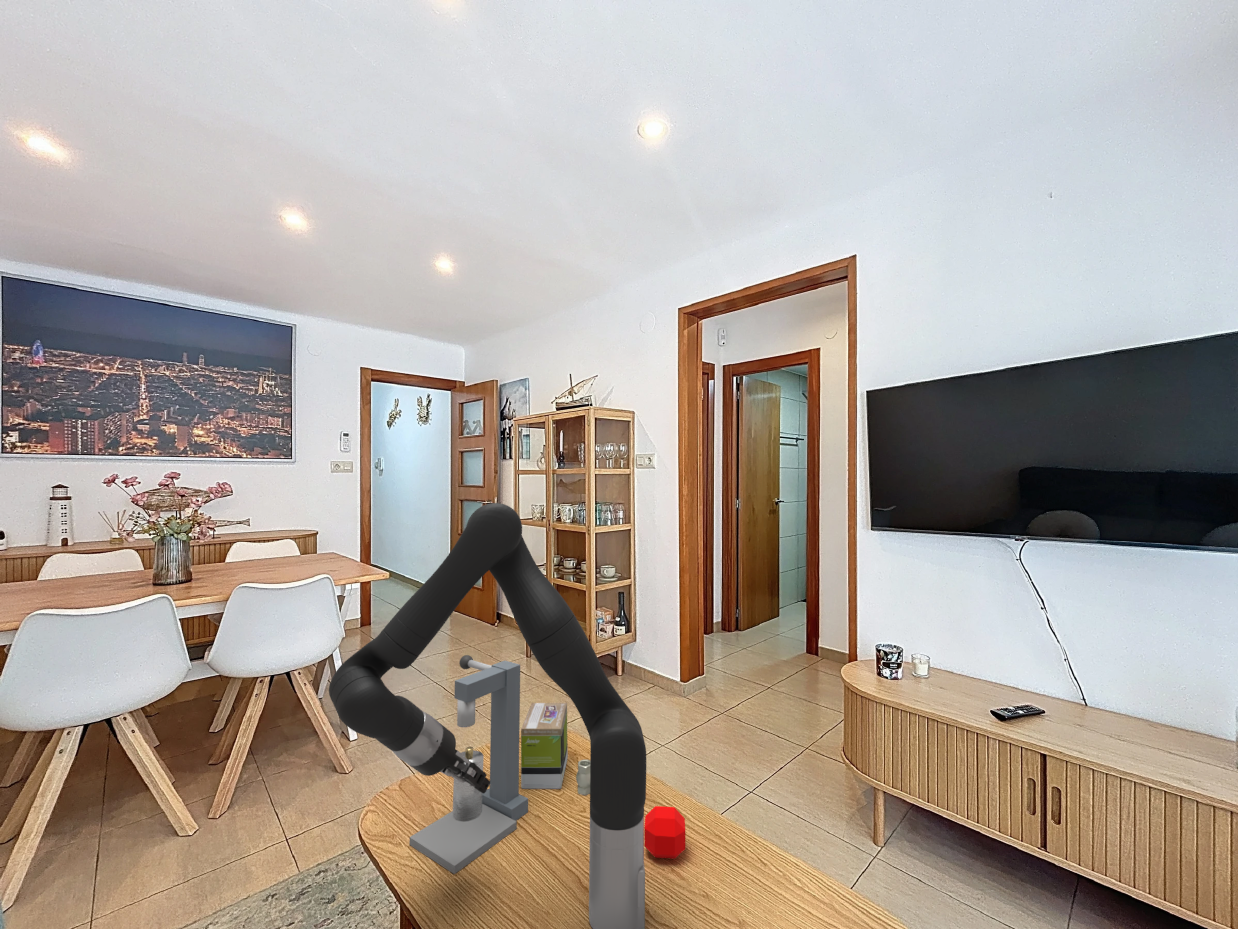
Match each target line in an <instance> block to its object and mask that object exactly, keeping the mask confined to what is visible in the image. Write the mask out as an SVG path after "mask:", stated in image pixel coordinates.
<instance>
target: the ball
mask: <svg viewBox="0 0 1238 929" xmlns="http://www.w3.org/2000/svg"><path fill="white" fill-rule="evenodd" d="M686 831H687V830H686V818H685V817H684V816H683V815H682V814H681V812H680V811H679V810H678V809H677V808H676V807H675V806H661V805H659V806H658V805H655V806H654V807H653V808H651V810H650V811H648V813H647V814H645V815H644V848H645V849H646V850H648V852H649V853H650V854H651V855H652V856H653V857H654V858H656V859H667V858H670V859H671V860H676V858H677V857H678V856H679V855H681V853H683V852H684V851H685V850H686V833H687V832H686ZM670 859H669V860H670Z"/></svg>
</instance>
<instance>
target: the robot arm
mask: <svg viewBox="0 0 1238 929" xmlns="http://www.w3.org/2000/svg"><path fill="white" fill-rule="evenodd" d="M522 524H523V523H522V520H521V517H520V516H519V514H518V513H517V511H516V510H515V509H514V508H512V507H511V506H510V505H507V504H504V503H498V502H492V503H486V504H484V505H481V506H479V507H478V508H477V509H475V510H474V512H472V513H471V515H470V517H469V518H468V520H467V523H466V526H465V528H464V530H463V531H462V533H461V534H460V536H459V538H458V540H457V541H456V543H455V544H454V546H453V547H452V549H451V550H450V552H449V553H448V555H447V556H446V558H445V559H444V560H443V561H442V563H441V564H440V565H439V566H438V568H437V569H436V570H435V571H434V572H433V574H431V575H430V577H429V578H428V579H427V580H426V581H425V582H424V583H423V584H422V585H421V586H420V587H419V588H418V589H417V591H415V593H413V595H411V597H410V598H409V599H408V600H407V601H406V602H405V603H404V605H402V606H401V608H399V610H398V611H397V612H396V614H395V615H394V616H393V617H392V618H391V619H390V621H388V623H387V624H386V625H385V626H384V628H383V629H382V630H381V631H380V633H379V634H378V635H377V636H376V637H375V638H373V639H371V641H369V642H367V643H366V644H365V645H364V646H363V647H361V648H360V649H359V650H358V651H356V652H354V653H353V654H352V655H351V656H350V657H348V658H347V659H346V660H345V661H344V662H343V663H342V664H341V665H340V666H339V667H338V668H337V670H336V671H335V672H334V673H333V676H332V678H331V681H330V682H329V685H328V694H329V698H330V700H331V702H332V705H333V706H334V709H335V712H336V713H337V715H338V717H339V719H340V721H341V722H342V723H343V724H344V725H345V726H346V727H348V728H349V729H350V730H351V731H353V732H355V733H357V734H359V735H363V736H364V737H367V738H372V739H375V740H376V741H378V743H380V744H382V745H383V746H384V747H386V748H387V749H389V750H390V751H392V753H393V754H394V755H395V756H396V757H397V758H399V760H401V761H403V762H404V763H405V764H407V765H408V766H409V767H411V768H413V769H414V770H416V771H417V772H418V773H420V774H421V775H423V776H426V777H429V776H435V775H437V774H438V773H441V774H444V775H445V776H447V777H451V778H453V780H454V779H456V780H457V781H459V782H461V783H464V782H466V783H468V784H469V785H470V786H471V787H472V786H473V787H474V788H476V789H477V790H478V791H480V792H481V793H485V792H486V790H488V789H489V788H490V779H488V778H487V774H486V772H485V771H484V770H483V771H482V770H481V769H480V768H479V767H478V766H477V765H475V763H474V762H473V763H472V762H471V761H469V760H468V759H467V758H465V757H464V756H463V754H462V753H461V751H459V749H456V748H457V740H456V737H455V735H454V733H453V732H452V731H450V730H449V729H448V728H447V727H446V726H445V725H443V724H442V723H441V722H439V721H438V719H436V718H434V717H433V715H430V714H429V713H428V712H425V711H424V710H422V709H421V708H419V707H418V706H417V705H416V704H415V703H413V702H412V701H411V700H409V698H406V697H404V696H401V695H396V694H394V693H393V692H392V691H391V690H390V689H389V688H388V687H387V686H386V684H385V683H384V681H383V680H382V677H383V676H384V675H385V674H386V673H388V671H390V670H391V669H392V668H395V669H398V670H404V669H407V668H409V667H410V666H411V665H413V663H414V662H415V661H416V660H417V659H418V657H419V656H420V655H421V654H422V653H423V651H424V650H425V649H426V648H427V647H428V645H429V644H430V643H431V642H432V640H434V638H435V637H436V635H437V634H438V632H440V630H441V629H442V627H443V626H444V625H445V623H446V622H447V621H448V619H449V618H450V617H451V615H452V614H453V612H455V610H456V608H458V606H459V604H461V602H462V601H463V599H464V598H465V597H466V595H467V594H468V593H469V592H471V590H472V589H473V587H474V586H476V584H477V583H478V582H479V581H480V580H481V579H482V578H483V576H485V574H487V573H488V572H490V573H491V575H492V577H493V578H494V580H495V582H497V583H498V586H499V587H500V589H501V590H502V594H503V595H504V597H505V599H506V602H507V604H508V606H509V609H510V612H511V613H512V616H513V618H514V620H515V622H516V624H517V626H518V629H519V630H520V633H521V634H522V636H523V638H524V641H525V642H526V644H527V646H528V647H529V649H530V651H531V652H532V655H533V656H534V658H535V659H536V661H537V663H538V664H539V666H540V668H541V669H542V670H543V671H544V672H545V674H546V675H547V676H548V677H549V678H550V679H551V680H552V681H553V682H554V683H555V684H556V685H557V686H558V687H559V688H560V689H561V690H562V691H563V692H564V693H565V694H566V695H567V696H568V697H569V698H570V700H571V701H572V703H573V704H574V706H575V708H576V709H577V710H576V711H578V713H579V715H580V718H581V720H582V722H583V725H584V727H585V728H586V731H587V733H588V736H589V741H590V742H589V743H590V749H589V751H590V755H589V756H590V757H589V758H590V759H589V760H590V794H589V854H588V855H589V864H588V865H589V866H588V867H589V868H588V869H589V870H588V871H589V873H588V874H589V875H588V878H589V881H588V922H589V925H590V926H591V929H646V918H645V917H646V913H645V912H646V869H645V846H644V834H645V804H646V799H647V798H646V797H647V749H646V742H645V738H644V734H643V730H642V727H641V724H640V722H639V720H638V718H637V717H636V716H635V714H634V712H633V711H632V710H631V709H630V708H629V707H628V705H627V704H626V703H625V701H624V700H623V699H622V697H621V696H620V694H619V692H617V690H616V689H615V688H614V686H613V684H612V683H611V681H610V680H609V679H608V676H607V674H606V673H605V671H604V669H603V667H602V664H601V663H600V660H599V658H598V655H597V654H596V652H595V650H594V648H593V646H592V645H591V642H590V640H589V639H588V637H587V634H586V632H585V631H584V628H583V627H582V626H581V623H580V622H579V620H578V619H577V617H576V615H575V614H574V612H573V611H572V609H571V607H570V606H569V605H568V603H567V602H566V600H565V599H564V597H563V596H562V594H560V592H559V591H558V590H557V589H556V588H555V585H553V584H552V583H551V581H550V580H549V579H548V577H546V575H545V574H544V573H543V572H542V571H541V569H540V568H539V566H538V565H537V564H536V562H535V560H534V558H533V556H532V554H531V552H530V550H529V548H528V546H527V544H526V542H525V540H524V538H523V525H522ZM464 762H465V763H466V765H465V763H464ZM462 771H463V772H462ZM461 772H462V774H461V776H457V775H459V774H460V773H461Z"/></svg>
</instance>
